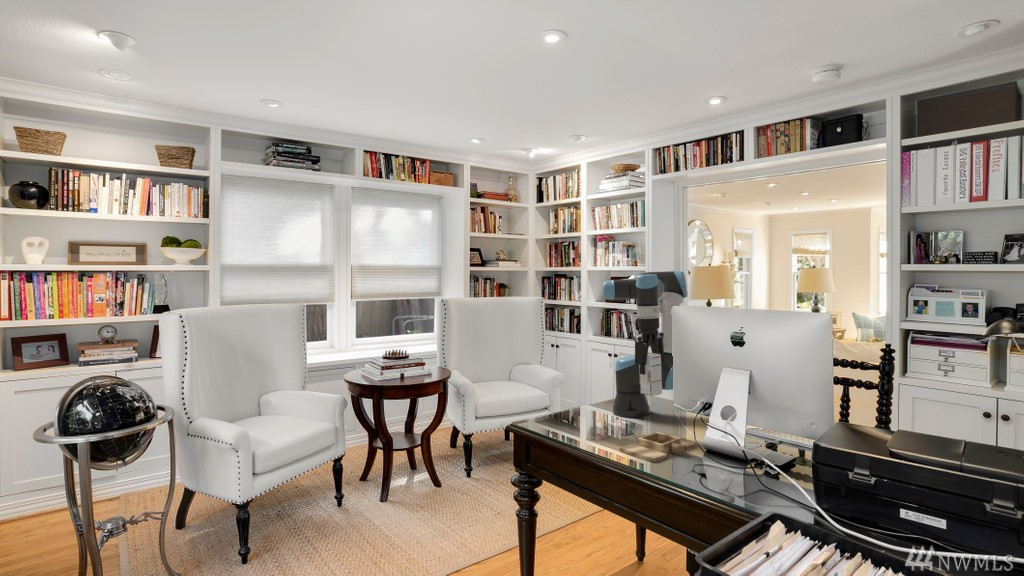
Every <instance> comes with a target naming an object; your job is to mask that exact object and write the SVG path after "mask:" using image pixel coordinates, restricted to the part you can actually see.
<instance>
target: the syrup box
mask: <svg viewBox="0 0 1024 576" xmlns="http://www.w3.org/2000/svg"><path fill="white" fill-rule="evenodd" d="M646 365H648V384H645V383H641V374H640V366H639V374H640V393H641V394H645V395H646V396H650V397H654V396H658V395H661V394H663V389H662V378H661V354H656V353H652V352H648V354H647V361H646Z"/></svg>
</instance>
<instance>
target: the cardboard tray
mask: <svg viewBox="0 0 1024 576" xmlns="http://www.w3.org/2000/svg"><path fill="white" fill-rule="evenodd" d="M635 442H636V443H637V444H636V443H631V444H628V445H624V446H621V447H619V452H620V451H621V453H623V452H624V453H623V454H626V453H627V454H626V455H629V454H630V456H632V455H633V456H632V457H635V456H636V458H638V457H639V458H638V459H641V458H642V459H641V460H644V459H645V460H644V461H647V460H648V461H647V462H650V461H651V463H653V462H655V463H656V462H660V461H663V460H666V459H667V458H668V455H670V454H674V455H678V456H681V457H682V456H683V455H685V452H686V451H689V450H692V449H694V448H698V447H699V446H700V442H699V441H696V440H691V439H687V438H683V437H681V436H677V435H672V434H670V433H666V432H664V433H663V432H659V431H655V432H652V433H650V434H649V433H648V434H644V433H637V434H636V435H635Z"/></svg>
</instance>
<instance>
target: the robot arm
mask: <svg viewBox="0 0 1024 576" xmlns="http://www.w3.org/2000/svg"><path fill="white" fill-rule="evenodd" d="M687 285H688V284H687V279H686V276H685V273H684V272H683V271H681V270H671V271H647V272H643V273H642V272H641V273H638V274H634V275H631V276H630V277H629V278H622V279H611V280H609V279H608V280H605V281H604V282H603V286H602V293H603V297H604V299H606V300H611V301H612V300H613V301H614V300H615V301H616V300H636V316H637V317H638V318H637V328H638V329H639V333H638V335H637V336H633V340H634V355H628V356H623V357H619V358H618V359H617V360H616V361H615V369H614V373H615V387H616V389H615V390H616V391H615V393H616V394H615V399H614V402H613V405H612V414H613V415H616V416H619V417H623V418H642V417H646V416H649V415H650V414H651V406H650V405H649V402H648V398H647V395H645V394H641V393H640V374H641V383H645V384H648V365H646V361H647V354H648V353H649V348H650V351H651V353H656V354H661V378H662V391H663V390H666V391H673V356H672V315H671V309H672V307H673V306H679V307H680V305H681V304H683V302H684V299H686V298H687V297H688V286H687ZM639 366H640V374H639Z"/></svg>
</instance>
